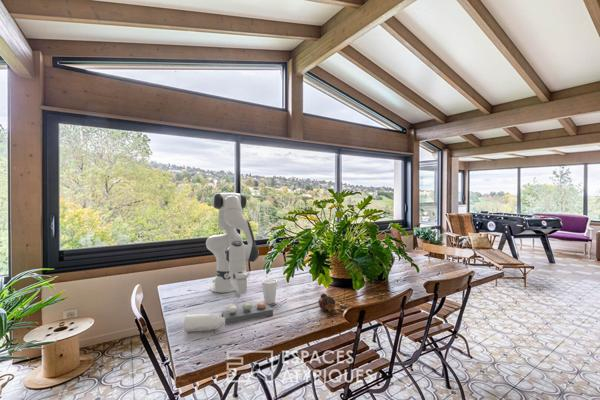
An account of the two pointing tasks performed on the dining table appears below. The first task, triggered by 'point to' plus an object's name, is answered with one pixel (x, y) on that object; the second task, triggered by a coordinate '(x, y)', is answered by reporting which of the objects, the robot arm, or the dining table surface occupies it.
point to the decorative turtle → (326, 303)
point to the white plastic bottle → (203, 322)
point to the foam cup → (269, 290)
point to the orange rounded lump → (261, 305)
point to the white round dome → (232, 309)
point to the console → (247, 314)
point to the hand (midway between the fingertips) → (237, 297)
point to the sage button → (247, 307)
